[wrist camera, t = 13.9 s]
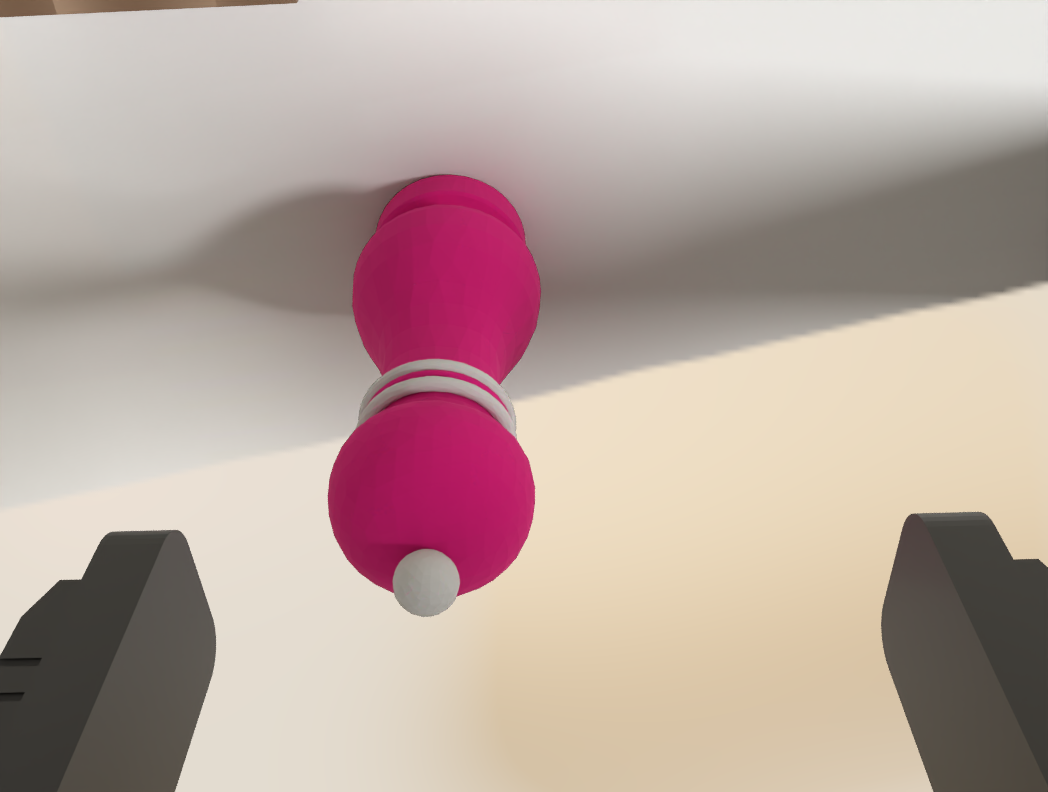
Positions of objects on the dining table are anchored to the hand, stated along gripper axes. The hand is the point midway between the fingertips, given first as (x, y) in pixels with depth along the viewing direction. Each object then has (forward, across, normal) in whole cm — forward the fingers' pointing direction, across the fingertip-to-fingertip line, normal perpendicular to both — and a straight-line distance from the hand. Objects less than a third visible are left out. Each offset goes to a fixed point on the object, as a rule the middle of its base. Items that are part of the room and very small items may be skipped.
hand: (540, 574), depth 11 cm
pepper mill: (+30, +4, +11) cm, 32 cm away
